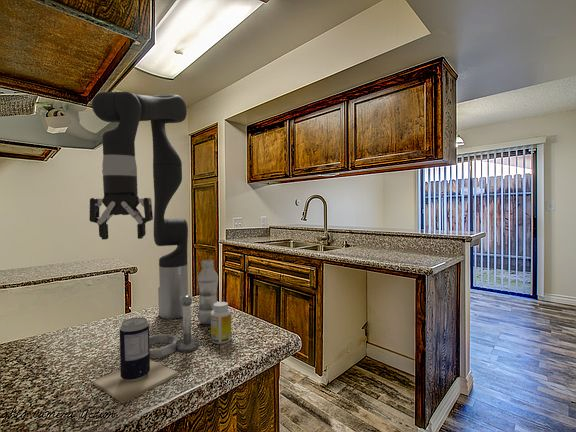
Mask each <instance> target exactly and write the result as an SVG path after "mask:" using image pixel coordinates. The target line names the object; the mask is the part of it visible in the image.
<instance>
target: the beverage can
mask: <svg viewBox="0 0 576 432" xmlns="http://www.w3.org/2000/svg"><path fill="white" fill-rule="evenodd" d="M149 337H150V324H149V322H148V319H147V318H146V317H141V316H140V317H139V316H138V317H131V318H128V319H125V320H123V321H122V322H121V326H120V328H119V362H120V363H119V364H120V366H119V368H120V369H119V370H120V372H121V378H123V379H125V380H126V381H128V382H133V381H138V380H140V379H142V378H144V377H145V376H146V374H147V373H148V372H149V371H150V360H151V358H150V349H151V348H150V345H149Z"/></svg>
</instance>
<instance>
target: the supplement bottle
mask: <svg viewBox="0 0 576 432" xmlns="http://www.w3.org/2000/svg"><path fill="white" fill-rule="evenodd" d="M232 335H233V334H232V311H231V309H230V308H229V303H228V302H226V301H217V303H215V304H214V305H213V311H212V312H211V324H210V341H211V342H212V343H214V344H216V345H221V344H227V343H228V342H230V341H231V340H232Z"/></svg>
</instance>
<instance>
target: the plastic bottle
mask: <svg viewBox="0 0 576 432" xmlns="http://www.w3.org/2000/svg"><path fill="white" fill-rule="evenodd" d="M214 266H215V265H214V260H213V259H204V260H201V266H200V267H201V268H202V269H200V272H199V273H198V274H197V285H198V291H199V304H198V311H197V319H198V322H199V323H200V324H202V325H211V312H212V311H213V305H214V304H215V303H217V302H218V299H217V296H218V295H217V294H218V284H219V275H218V272H217V271H216V270H215V269H214Z"/></svg>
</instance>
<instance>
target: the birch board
mask: <svg viewBox="0 0 576 432" xmlns="http://www.w3.org/2000/svg"><path fill="white" fill-rule="evenodd" d="M176 376H178V371H176V370H173V369H172V368H169V367H167V366H165V365H163V364H161V363H158V362H156V361H154V360H152V359H150V371H149V372H148V373H147V374H146V376H145V377H144V378H142V379H140V380H138V381H133V382H128V381H126V380H125V379H123V378H121V372H120V369H118V370H115V371H113V372H111V373H109V374H107V375H104V376H102V377H99V378H96V379H95V380H93V381H92V384H93V385H94V386H95V387H97V388H98V389H100V390H101V391H103V392H105V393H107V394H108V395H109V396H111V397H113V398H114V399H116V400H117V401H119V402H120V403H121V404H124V405H125V404H126V403H127V402H129V401H131V400H134V399H135V398H136V397H138V396H140V395H142V394H144V393H146V392H147V391H150V390H151V389H154V388H156V387H157V386H159V385H161V384H163V383H165V382H166V381H168V380H170V379H173V378H174V377H176Z"/></svg>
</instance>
